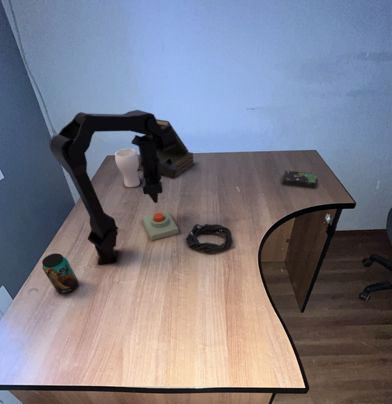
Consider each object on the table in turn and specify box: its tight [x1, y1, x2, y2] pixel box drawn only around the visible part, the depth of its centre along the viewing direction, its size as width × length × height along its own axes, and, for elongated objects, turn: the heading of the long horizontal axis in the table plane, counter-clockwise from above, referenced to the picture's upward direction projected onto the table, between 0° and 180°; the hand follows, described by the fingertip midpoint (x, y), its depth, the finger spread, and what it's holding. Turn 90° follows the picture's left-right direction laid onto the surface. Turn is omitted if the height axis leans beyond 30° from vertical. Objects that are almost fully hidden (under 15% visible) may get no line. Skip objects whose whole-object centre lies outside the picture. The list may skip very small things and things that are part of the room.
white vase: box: [114, 148, 141, 188], centre depth 127 cm, size 11×11×15 cm
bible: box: [138, 118, 194, 178], centre depth 136 cm, size 23×20×25 cm
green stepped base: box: [141, 210, 180, 241], centre depth 105 cm, size 14×11×4 cm
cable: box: [185, 223, 233, 254], centre depth 97 cm, size 17×14×4 cm
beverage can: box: [41, 252, 80, 295], centre depth 81 cm, size 7×7×12 cm
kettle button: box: [153, 212, 164, 222], centre depth 103 cm, size 4×4×2 cm
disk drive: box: [281, 170, 317, 189], centre depth 128 cm, size 10×3×15 cm
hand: (155, 200), depth 98 cm, fingers open, 4 cm apart
